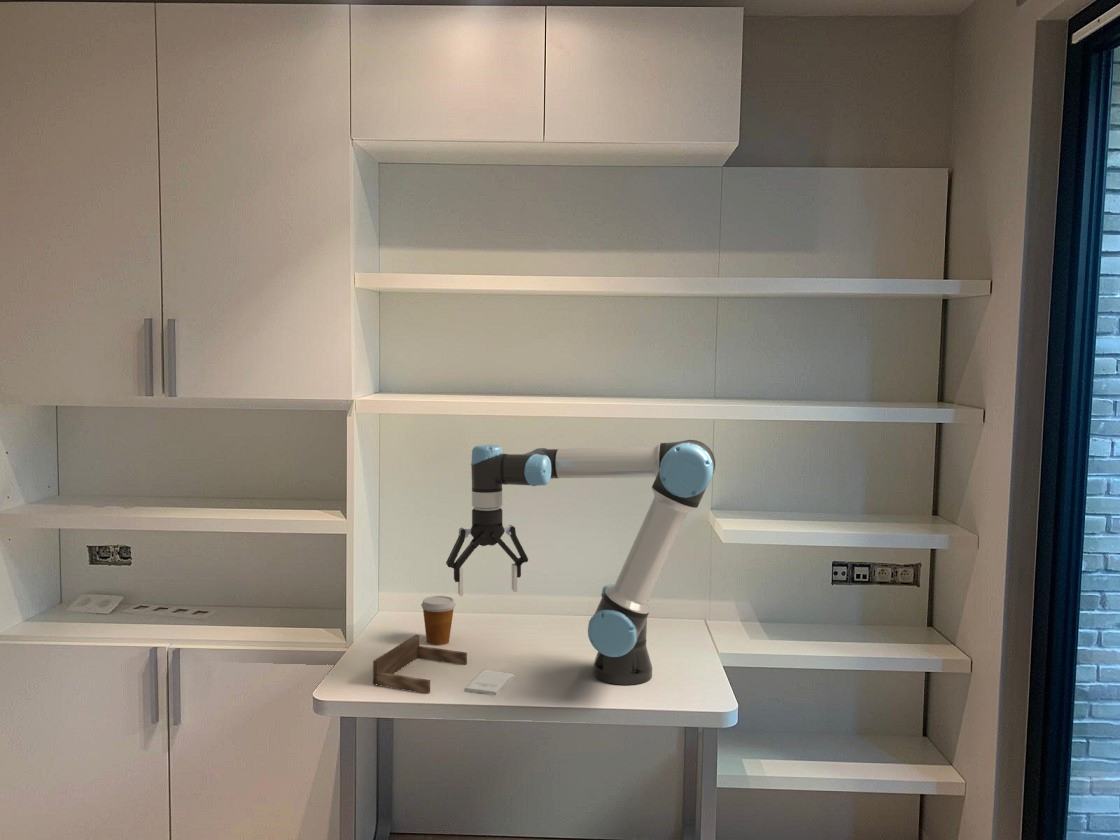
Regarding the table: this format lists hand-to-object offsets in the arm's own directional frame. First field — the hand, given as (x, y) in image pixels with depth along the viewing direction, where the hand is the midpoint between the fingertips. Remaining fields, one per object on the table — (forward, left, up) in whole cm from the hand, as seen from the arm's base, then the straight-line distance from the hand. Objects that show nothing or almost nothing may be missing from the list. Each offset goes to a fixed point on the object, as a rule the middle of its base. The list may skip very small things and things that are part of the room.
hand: (487, 592), depth 215 cm
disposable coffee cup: (+24, -21, -22) cm, 39 cm away
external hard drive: (-2, +3, -23) cm, 23 cm away
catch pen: (+16, +3, -22) cm, 27 cm away
